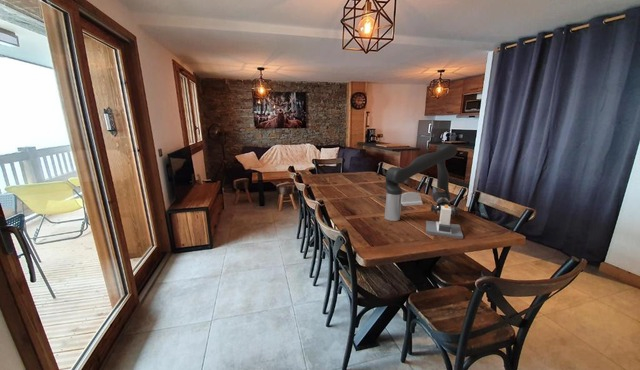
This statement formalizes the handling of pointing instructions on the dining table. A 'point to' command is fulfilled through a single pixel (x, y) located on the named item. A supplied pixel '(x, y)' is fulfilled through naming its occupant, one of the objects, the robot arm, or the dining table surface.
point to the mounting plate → (434, 229)
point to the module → (445, 215)
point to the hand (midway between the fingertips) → (444, 213)
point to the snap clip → (444, 227)
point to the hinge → (411, 199)
